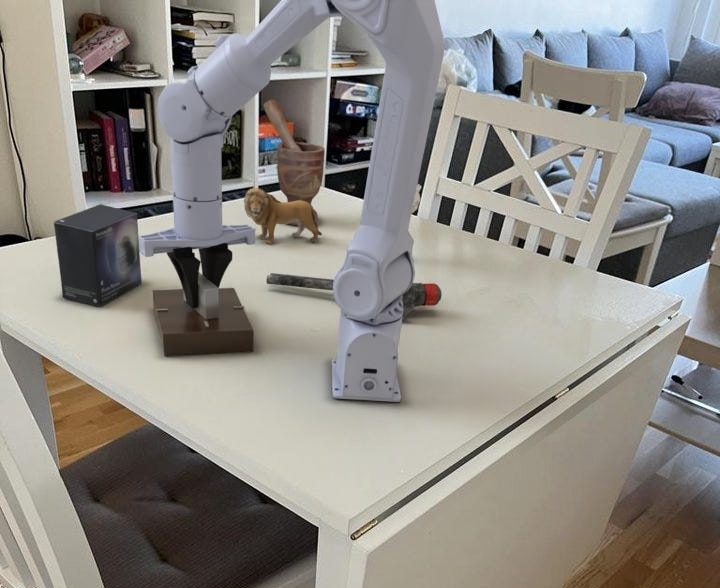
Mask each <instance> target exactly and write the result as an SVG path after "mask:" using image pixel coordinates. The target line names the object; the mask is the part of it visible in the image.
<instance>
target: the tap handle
mask: <svg viewBox="0 0 720 588" xmlns="http://www.w3.org/2000/svg"><path fill="white" fill-rule="evenodd" d="M183 293H184V290H183ZM184 300H185V301H186V298H185V294H184ZM194 309H195V310H196V311H197V312H198V313H199V314H200V315H201V316H202V317H204V318H205V319H206V320H208V319H214V318H219V293H218V287H217V286H215V285H214V284H213V283H212V282H211V281H209V280H208V279H207V278H206V277H204V276H203V275H202V272H200V271H199V274H198V308H194Z"/></svg>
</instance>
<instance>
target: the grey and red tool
mask: <svg viewBox="0 0 720 588" xmlns="http://www.w3.org/2000/svg"><path fill="white" fill-rule="evenodd" d="M333 282H334V279H333V278H332V279H331V278H323V277H322V278H321V277H312V276H302V275H293V274H284V273H275V272H274V273H273V272H270V274H268V275H267V276H266V285H276V286H284V287H295V288H304V289H314V290H322V291H332V292H333ZM442 294H443V292H442V289H441V288H440V286H439V285H438V284H436V283H435V282H434V283H433V282H432V283H422V282H413V284H412V286H411V287H410V289H409V290H408V291H407V292H406V293H404V294H403V296H402V302H403V317H402V320H403V319H404V318H406V317H408V315H409V314H410V313H411V312H412V310H413V309H414V307H415V308H416V307H417V308H418V307H430V306H431V307H433V306H435V307H436V305H438V304H439V302H440V301H441V300H442V297H443V295H442Z"/></svg>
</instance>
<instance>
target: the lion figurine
mask: <svg viewBox="0 0 720 588" xmlns="http://www.w3.org/2000/svg"><path fill="white" fill-rule="evenodd" d="M243 204H244V205H243V206H244V212H245V214H246V216H247V217H248V218H250V219H252V221H253V222H254V223H255V224H256V225H258V226H260V228H261V234H259V235H258V239H259V240H264V239H265V243H266V244H269V245H271V244H272V245H273V243H274V241H275V229H276V226H277V225H287V224H288V223H290V222H292V221H294V220H296V222H297V225H296V226H297V230H296V232H292V233H291V237H292V238H299V237H300V235H301V234H302V233H303V232H304V231H305V229H307V231H309V232H311V234H312V235H313V236H312V237H310V239H309V241H310V242H311V243H317V242H318V239H319V236H323V233H322V232H321V231H320V230H319V226H318V225H319V224H318V222H317V217H316V213H315V211H316V210H315V209H314V207H313V205H312V204H311V205H312V206H311V205H310V204H309V203H308V202H306V201H301V200H298V201H293V202H287V201H286V202H282V201H280V200H278V199H277V198H276V197H275V196H274V195H273V194H270V193H268V192H266V191H265V190H263V189H262V188H258V187H253V188H250V189H248V190H247V192H246V193H245V195H244V198H243ZM314 210H315V211H314ZM311 213H312V217H313V221H314V224H313V222H312V218H311ZM288 225H289V224H288ZM267 236H268V237H267ZM266 238H267V239H266Z"/></svg>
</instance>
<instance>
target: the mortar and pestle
mask: <svg viewBox="0 0 720 588" xmlns="http://www.w3.org/2000/svg"><path fill="white" fill-rule="evenodd" d="M263 109H264V112H265V114H266V116H267V118H268V120H269V122H270V123H271V125H272V127H273V128H274V130H275V131H276V133H277V135H278V136H279V138H280V140H281V142H280V143H278V144H277V145H276V165H277V166H276V173H277V179H278V184H279V189H280V191H281V192H282V193H283V195H284V196H285V197H286V200H287V201H286V202H293V201H298V200H301V201H306V202H308V203H309V204H310V205H311V206H312V207H313V205H312V202H313V199H314V198H315V197H316V196H317V195H318V194H319V192H320V189H321V186H322V182H323V177H324V167H325V166H324V163H325V153H326V151H325V150H326V149H325V148H324V147H323V146H322V145H318V144H315V143H310V142H300V141H299V142H298V141H297V142H296V141H295V140H294V137H293V135H292V133H291V131H290V128H289V126H288V123H287V120H286V118H285V115H284V113H283V110H282V108H281V106H280V103H279V102H278V101H277V100H276V99H275V98H271V99H269V100H267V101H265V102H264V103H263ZM314 211H315V213H316V217H317V223H318V222H319V216H318V212H317V211H316V209H314ZM311 218H312V222H313V224H314V221H313V217H312V213H311ZM288 225H292V226H298V225H297V222H296V220H294V221H292V222H290V223H288Z"/></svg>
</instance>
